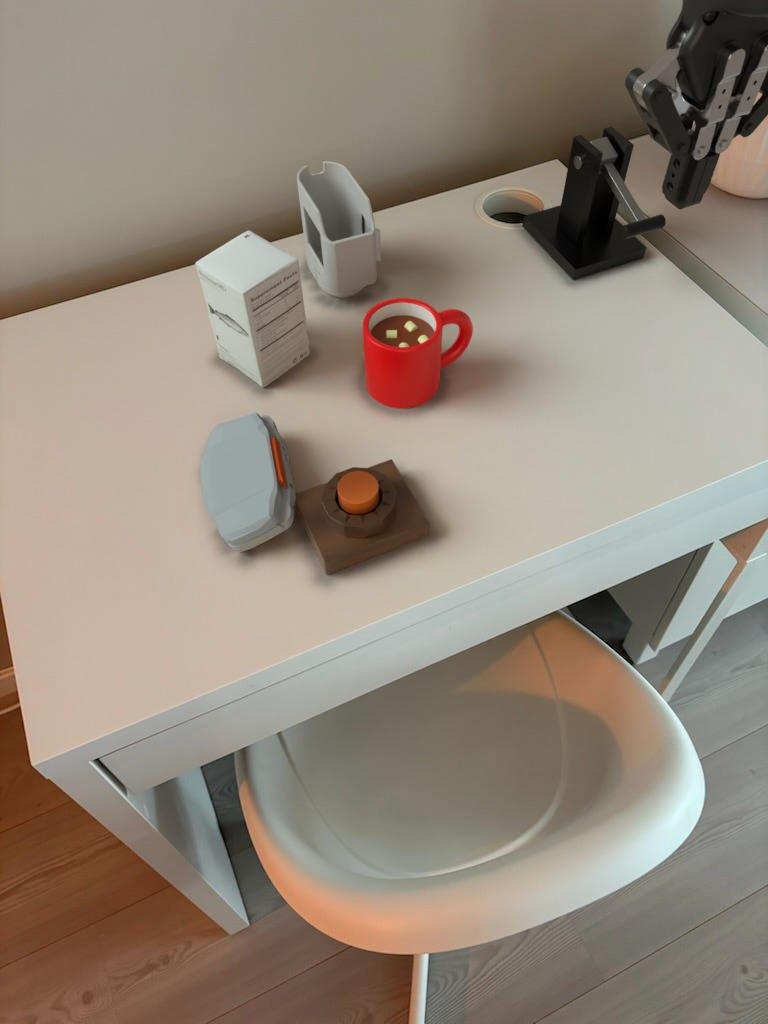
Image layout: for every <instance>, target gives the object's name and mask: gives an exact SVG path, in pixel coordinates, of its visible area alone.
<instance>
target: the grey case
mask: <svg viewBox="0 0 768 1024" xmlns="http://www.w3.org/2000/svg"><path fill="white" fill-rule="evenodd" d="M199 470H200V471H199V476H200V486H201V492H202V498H203V503H204V506H205V509H206V512H207V514H208V516H209V517H210V520H212V521H213V522H214V523H215V526H216V527H217V530H218V533H219V536H221V538H222V539H223V540H224V541H225V542H226V543H227V545H228V546H229V548H231V550H234V551H235V552H238V553H239V552H241V553H243V552H246V551H249V550H251V549H254V548H255V547H257V546H259V545H261V544H263V543H265V542H267V541H269V540H271V539H273V538H274V537H276V536H278V535H280V534H281V533H284V532H286V531H287V530H289V529H290V528H291V526H292V524H293V522H294V521H295V505H294V504H295V498H296V495H295V494H296V490H295V485H294V480H293V476H292V471H291V465H290V460H289V454H288V450H287V446H286V442H285V440H284V439H283V437H282V436H281V435H280V433H279V430H278V426H277V425H276V422H275V421H274V420H273V419H272V417H271V416H270V415H268V414H263V415H262V416H261V415H260V414H259V413H258V412H257V411H254V412H251V413H250V414H247V415H244V416H241V417H238V418H234V419H231V420H228V421H225V422H221V423H218V424H216V425H215V426H214V427H213V428H212V429H211V431H210V432H209V434H208V436H207V441H206V445H205V448H204V450H203V452H202V453H201V454H200V463H199Z"/></svg>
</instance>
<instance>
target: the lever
mask: <svg viewBox="0 0 768 1024" xmlns="http://www.w3.org/2000/svg"><path fill="white" fill-rule="evenodd" d="M589 142H590V143H591V144H592V145H594V146H595V147H596V148H597V149H598V150H599V151H601V152H602V153H603V155H602V160H601V164H600V169H599V173H598V174H603V176H604V177H605V179H606V181H607V182H608V184H609V186H610V187H611V189H612V191H613V192H614V194H615V196H616V197H617V199H618V201H619V205H620V206H621V208H622V209H623V211H624V212H625V215H626V216H627V217H628V219H629V220H630V223H627V224H624V225H623V226H621V227H620V229H619V234H620V237H621V238H622V239H623V240H625V239H628V238H631V237H638V236H640V235H644V234H648V233H651V232H653V231H657V230H660V229H663V228H665V226H666V223H667V222H666V221H667V220H666V217H665V216H664V214H662V213H660V214H657V215H653V216H650V217H647V218H646V216H645V214H644V213H643V211H642V210H641V208H640V206H639V205H638V203H637V201H636V199H635V198H634V196H633V194H632V193H631V192H630V190H629V188H628V187H627V185H626V183H625V182H624V181H623V180H622V178H621V176H620V175H619V173H618V171H617V170H616V168H615V166H614V165H613V164H614V162H615V161H616V159H617V157H618V154H617V153H616V151H615V149H614V148H613V146H612V144H611V143H610V141H609V139H608V138H607V137H603V138H602V137H600V138H596V139H593V140H590V141H589Z"/></svg>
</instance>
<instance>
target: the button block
mask: <svg viewBox="0 0 768 1024" xmlns="http://www.w3.org/2000/svg"><path fill="white" fill-rule="evenodd" d="M353 471H364V472H368V473H370V474H371V475H373V476H374V477H375V478H376V480H377V481H378V484H379V502H378V504H377V506H376V507H375V508H374V509H373V510H372V511H371V512H369V513H366V514H363V515H354V514H350V513H348V512H346V511H345V510H344V509H343V508H342V507H341V506H340V504H339V499H338V491H337V486H338V483H339V481H340V479H341V478H342V477H343V476H344V475H346V474H348V473H350V472H353ZM295 495H296V498H295V504H294V510H295V511H296V513H297V516H298V517H299V519H300V522H301V524H302V526H303V529H304V531H305V532H306V535H307V536H308V539H309V542H310V543H311V545H312V547H313V550H314V551H315V553H316V556H317V558H318V560H319V562H320V564H321V566H322V569H323V570H324V573H325V575H326V576H328V575H331V574H333V573H335V572H336V573H337V572H339V571H341V570H344V569H346V568H348V567H351V566H354V565H356V564H359V563H361V562H364V561H367V560H369V559H371V558H374V557H377V556H379V555H382V554H384V553H387V552H390V551H392V550H395V549H397V548H400V547H402V546H405V545H407V544H410V543H412V542H415V541H418V540H420V539H422V538H425V537H427V536H429V530H430V521H429V519H428V517H427V516H426V514H425V512H424V511H423V509H422V508H421V506H420V504H419V503H418V500H417V499H416V497H415V496H414V493H413V492H412V490H411V489H410V487H409V486H408V483H407V482H406V480H405V479H404V477H403V476H402V474H401V472H400V470H399V469H398V467H397V464H396V463H395V462H394V460H393V458H390V459H388V460H385V461H382V462H380V463H377V464H375V465H371V466H369V467H356V466H353V467H349V468H347V469H344V470H342V471H338V472H336V473H335V474H334V475H333V476H332V477H331V478H330V479H329V480H328V481H327V482H324V483H322V484H318V485H317V486H314V487H311V488H308V489H306V490H303V491H302V490H301V491H299V492H297V493H295Z"/></svg>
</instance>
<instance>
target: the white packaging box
mask: <svg viewBox="0 0 768 1024" xmlns="http://www.w3.org/2000/svg"><path fill="white" fill-rule="evenodd" d="M194 265H195V268H196V271H197V274H198V280H199V282H200V283H199V284H200V286H201V291H202V294H203V299H204V302H205V306H206V309H207V314H208V316H209V321H210V325H211V328H212V329H211V330H212V333H213V337H214V341H215V345H216V348H217V352H218V355H219V358H220V359H221V360H223V361H224V362H226V363H227V364H229V365H231V366H232V367H234V368H235V369H237V370H238V371H240V372H241V373H242V374H244V375H245V376H246V377H248V378H249V379H251V381H253V382H255V383H256V384H257V385H258V386H260V387H261V388H262V389H263V388H266V387H267V386H269V385H270V384H272V383H273V382H274V381H275V380H278V379H279V378H280V377H281V376H282V375H284V374H286V373H287V372H288V371H289V370H290V369H293V368H294V367H295V366H296V365H298V364H299V363H300V362H301V361H303V360H304V359H306V358H307V357H308V356H310V354H311V349H310V342H309V333H308V325H307V318H306V310H305V302H304V294H303V286H302V278H301V271H300V270H301V269H300V262H299V259H298V257H296V256H295V255H293V254H291V253H289V252H287V251H286V250H284V249H282V248H281V247H279V246H277V245H275V244H274V243H273V242H270V241H269V240H267V239H265V238H263V237H262V236H260V235H258V234H257V233H255V232H253V231H252V230H249V229H248V230H246V231H244V232H242V233H241V234H239V235H237V236H236V237H234V238H232V239H231V240H229V241H227V242H226V243H224V244H223V245H221V246H219V247H218V248H216V249H215V250H213V251H211V252H209V253H208V254H207V255H205V256H203V257H202V258H201V257H200V259H198V260H197V261H196V262H195V263H194Z"/></svg>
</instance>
